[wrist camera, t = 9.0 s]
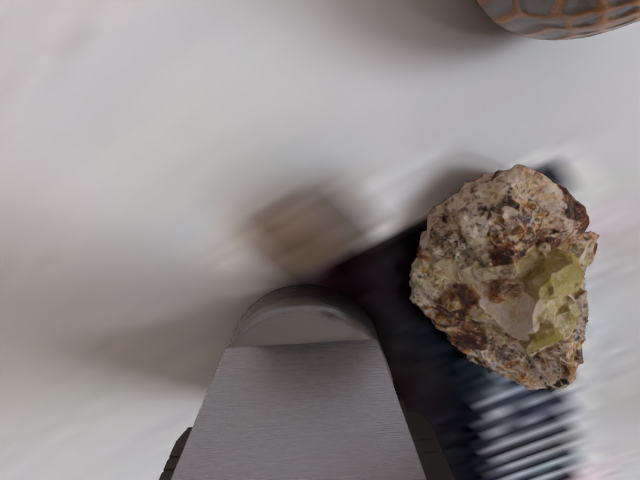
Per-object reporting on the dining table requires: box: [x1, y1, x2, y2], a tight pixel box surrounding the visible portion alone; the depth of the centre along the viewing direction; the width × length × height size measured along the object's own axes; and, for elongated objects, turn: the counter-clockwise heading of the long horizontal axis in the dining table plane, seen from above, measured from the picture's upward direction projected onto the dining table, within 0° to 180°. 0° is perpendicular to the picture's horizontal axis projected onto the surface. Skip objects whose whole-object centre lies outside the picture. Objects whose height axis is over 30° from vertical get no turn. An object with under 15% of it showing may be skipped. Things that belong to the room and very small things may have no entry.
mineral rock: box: [409, 165, 599, 392], centre depth 14 cm, size 11×4×8 cm
